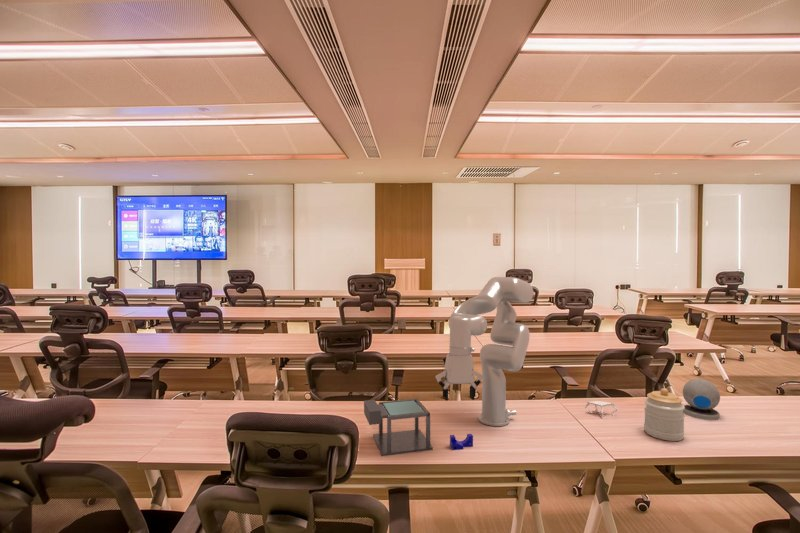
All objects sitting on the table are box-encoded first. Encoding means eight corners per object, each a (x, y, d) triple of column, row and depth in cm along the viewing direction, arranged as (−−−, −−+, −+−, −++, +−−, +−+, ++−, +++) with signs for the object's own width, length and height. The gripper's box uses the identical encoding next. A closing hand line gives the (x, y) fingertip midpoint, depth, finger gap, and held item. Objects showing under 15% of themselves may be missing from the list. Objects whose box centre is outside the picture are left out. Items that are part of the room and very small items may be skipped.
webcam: (717, 412, 177) (718, 378, 177) (721, 422, 167) (722, 386, 166) (681, 406, 184) (682, 373, 184) (683, 415, 173) (683, 380, 173)
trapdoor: (413, 407, 155) (413, 395, 155) (423, 419, 144) (423, 407, 143) (363, 412, 150) (363, 400, 150) (369, 425, 139) (369, 412, 139)
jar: (689, 444, 147) (690, 395, 147) (649, 439, 151) (650, 392, 151) (677, 429, 160) (677, 384, 159) (639, 425, 164) (640, 381, 163)
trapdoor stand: (419, 431, 158) (419, 398, 158) (432, 449, 143) (433, 413, 142) (373, 436, 153) (373, 402, 153) (381, 456, 138) (381, 418, 138)
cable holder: (452, 450, 143) (452, 439, 143) (449, 446, 146) (449, 435, 146) (474, 449, 144) (474, 437, 144) (471, 444, 147) (471, 433, 147)
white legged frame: (595, 419, 170) (595, 407, 170) (584, 411, 178) (584, 400, 178) (622, 417, 171) (622, 406, 171) (609, 410, 180) (610, 399, 179)
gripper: (479, 348, 150) (478, 395, 150) (433, 349, 148) (432, 396, 148) (486, 353, 143) (485, 401, 143) (439, 353, 140) (438, 403, 140)
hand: (458, 398), depth 145 cm, fingers open, 9 cm apart
